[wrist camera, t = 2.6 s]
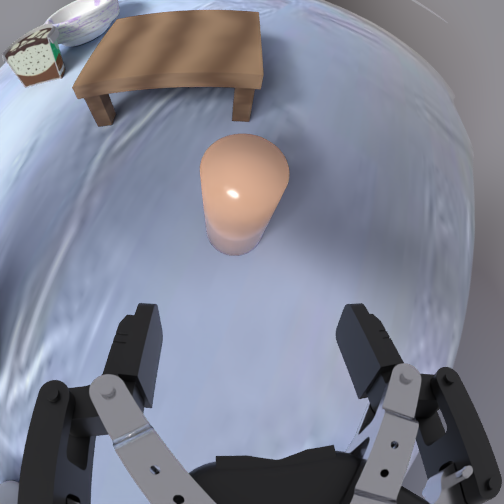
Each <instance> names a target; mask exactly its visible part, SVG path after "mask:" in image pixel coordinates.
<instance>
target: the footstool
mask: <svg viewBox="0 0 504 504" xmlns="http://www.w3.org/2000/svg"><path fill="white" fill-rule="evenodd" d="M262 80H263V61H262V47H261V34H260V21H259V12H250V11H234V10H188V11H173V12H162V13H153V14H145V15H138V16H132V17H126V18H121V19H117V20H116V21H115V23H114V24H113V25H112V26H111V28H110V29H109V30H108V32H107V33H106V34H105V36H104V37H103V39H102V40H101V42H100V43H99V44H98V46H97V47H96V49H95V50H94V52H93V53H92V55H91V56H90V58H89V60H88V61H87V63H86V64H85V66H84V68H83V69H82V71H81V73H80V74H79V76H78V78H77V80H76V81H75V83H74V85H73V87H72V88H73V90H74V92H75V94H76V96H77V98H78V99H81V98H84V99H85V101H86V103H87V105H88V107H89V109H90V111H91V113H92V115H93V117H94V119H95V121H96V123H97V125H98V127H99V126H107V125H112V124H113V121H114V118H115V115H116V112H115V110H114V107H113V105H112V102H111V99H110V97H109V94H110V93H117V92H125V91H133V90H143V89H156V88H172V87H234V88H235V91H234V101H233V113H232V121H244V122H249V120H250V114H251V108H252V103H253V97H254V92H255V89H261V85H262Z"/></svg>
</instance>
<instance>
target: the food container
mask: <svg viewBox="0 0 504 504" xmlns="http://www.w3.org/2000/svg"><path fill="white" fill-rule="evenodd" d="M58 36H59V31H58V30H57V29H56V27H55V26H53V25H52V24H45V25H42V26H39V27H37V28H35V29H33V30H31V31H29V32H28V33H26V34H25V35H23V36H22V37H21V38H19V39H18V40H16V41H15V42H14V43H13V44H11V46H9V47H8V48H7V49H6V50H5V51H4V52H3V53H2V55H3V60H4V62H5V61H7V63H8V64H9V66H10V67H11V69H12V70H13V72H14V73H15V74H16V76H17V77H18V79H19V80H20V81H21V83H22V84H23V85H24V87H25V88H27V87H30V86H34V85H38V84H41V83H45V82H49V81H53V80H57V79H62V77H63V75H64V73H65V67H64V64H63V60H62V57H61V53H60V50H59V46H58V42H57V38H58Z"/></svg>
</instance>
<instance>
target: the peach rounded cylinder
mask: <svg viewBox="0 0 504 504" xmlns="http://www.w3.org/2000/svg"><path fill="white" fill-rule="evenodd" d="M200 177H201V187H202V197H203V206H204V215H205V224H206V232H207V236H208V239H209V241H210V243H211V244H212V245H213V247H214V248H215V249H217V250H218V251H220V252H221V253H223V254H226V255H231V256H239V255H243V254H246V253H248V252H250V251H251V250H253V249H254V248H255V247H256V246H257V244H258V243H259V241H260V239H261V237H262V235H263V233H264V231H265V229H266V227H267V225H268V223H269V221H270V219H271V217H272V215H273V213H274V211H275V209H276V207H277V205H278V203H279V201H280V199H281V197H282V195H283V193H284V191H285V189H286V187H287V184H288V181H289V166H288V163H287V160H286V158H285V156H284V155H283V153H282V152H281V151H280V149H279V148H278V147H277V146H275V145H274V144H273V143H271V142H270V141H268V140H266V139H264V138H262V137H259V136H256V135H251V134H234V135H229V136H226V137H223V138H221V139H219V140H217V141H216V142H214V143H213V144H212V145H211V146H210V147H209V148H208V149H207V150H206V152H205V153H204V155H203V157H202V160H201V164H200Z"/></svg>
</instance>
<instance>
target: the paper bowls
mask: <svg viewBox="0 0 504 504" xmlns="http://www.w3.org/2000/svg"><path fill="white" fill-rule="evenodd" d="M118 15H119V4H118V0H76V1H74V2H72V3H70V4H68V5H66V6H65V7H63V8H61V9H60V10H58V11H57V12H55V13H54V14H53V15H52V16H51V17H49V18H48V20H47V21H46V22H45V24H52V25H53V26H55V27H56V29H57V30H58V31H59V36H58V38H57V42H58V44H62V45H64V46H67V47H73V46H78V45H81V44H84V43H87V42H89V41H91V40H93V39H95V38H96V37H98V36H100V35H101V34H102V33H104V32H105V31H106V30H107V29H108V27H109V26H110V24H111V21H113V20H114V19H115V18H116V17H117V16H118ZM45 24H44V25H45Z"/></svg>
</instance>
